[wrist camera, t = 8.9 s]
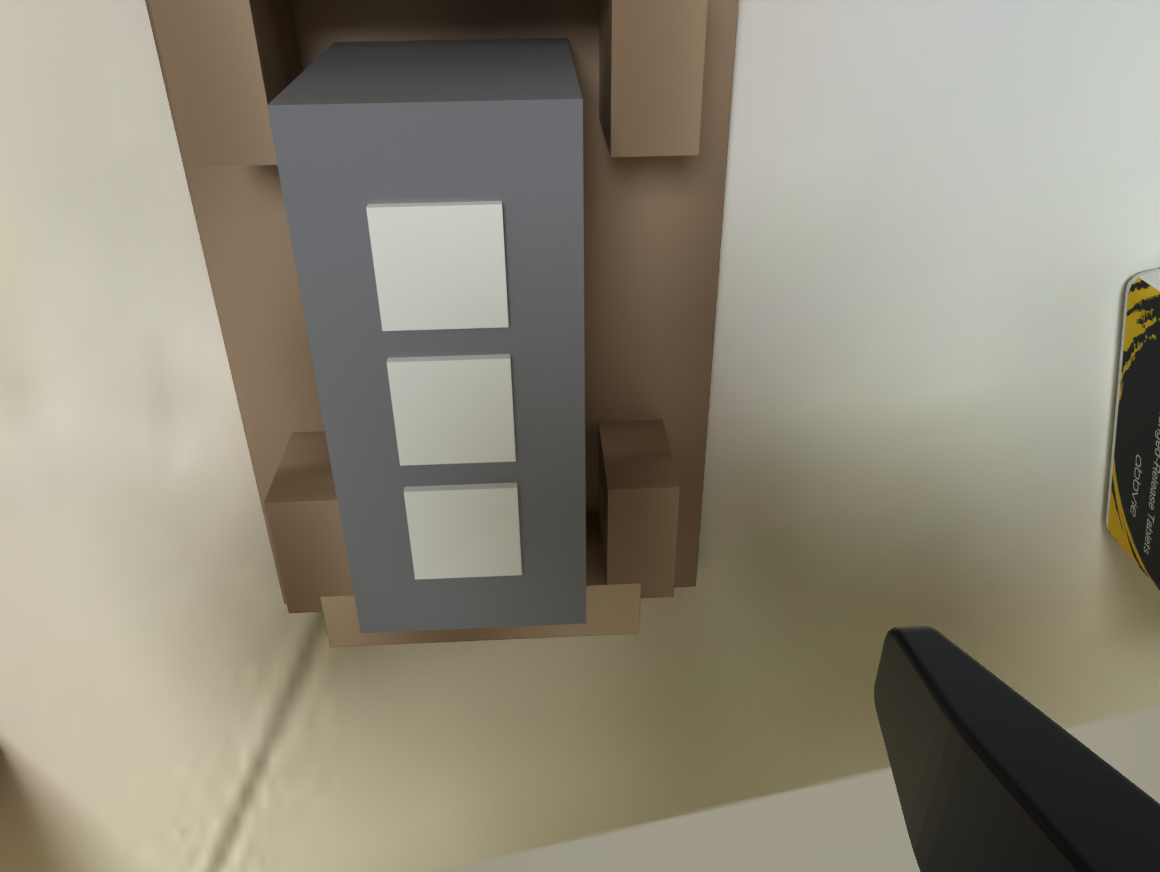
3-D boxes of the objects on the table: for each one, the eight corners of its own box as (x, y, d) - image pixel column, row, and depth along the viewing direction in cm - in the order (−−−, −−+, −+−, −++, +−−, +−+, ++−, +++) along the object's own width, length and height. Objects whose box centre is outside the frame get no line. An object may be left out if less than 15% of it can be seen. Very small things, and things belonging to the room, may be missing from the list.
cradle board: (745, -200, 15) (794, -214, 12) (692, 570, 23) (714, 663, 21) (115, -195, 15) (21, -209, 12) (289, 587, 23) (258, 684, 20)
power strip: (566, 37, 16) (583, 100, 12) (573, 468, 21) (586, 629, 16) (334, 41, 16) (264, 108, 12) (393, 475, 21) (359, 639, 16)
